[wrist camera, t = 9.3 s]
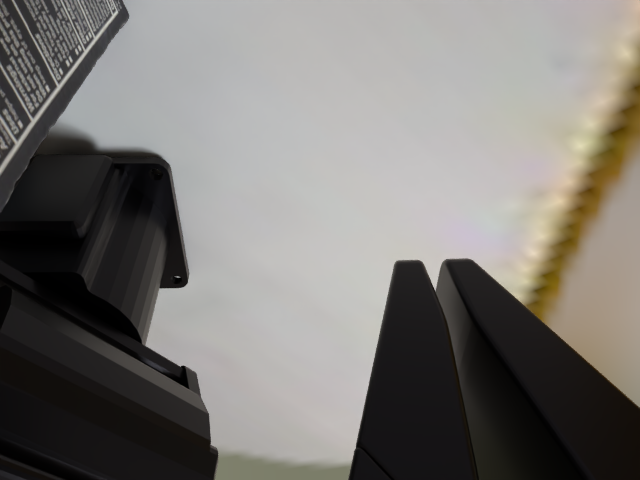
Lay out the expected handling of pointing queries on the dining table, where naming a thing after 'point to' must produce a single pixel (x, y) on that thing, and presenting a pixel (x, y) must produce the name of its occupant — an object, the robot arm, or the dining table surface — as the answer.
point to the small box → (45, 69)
